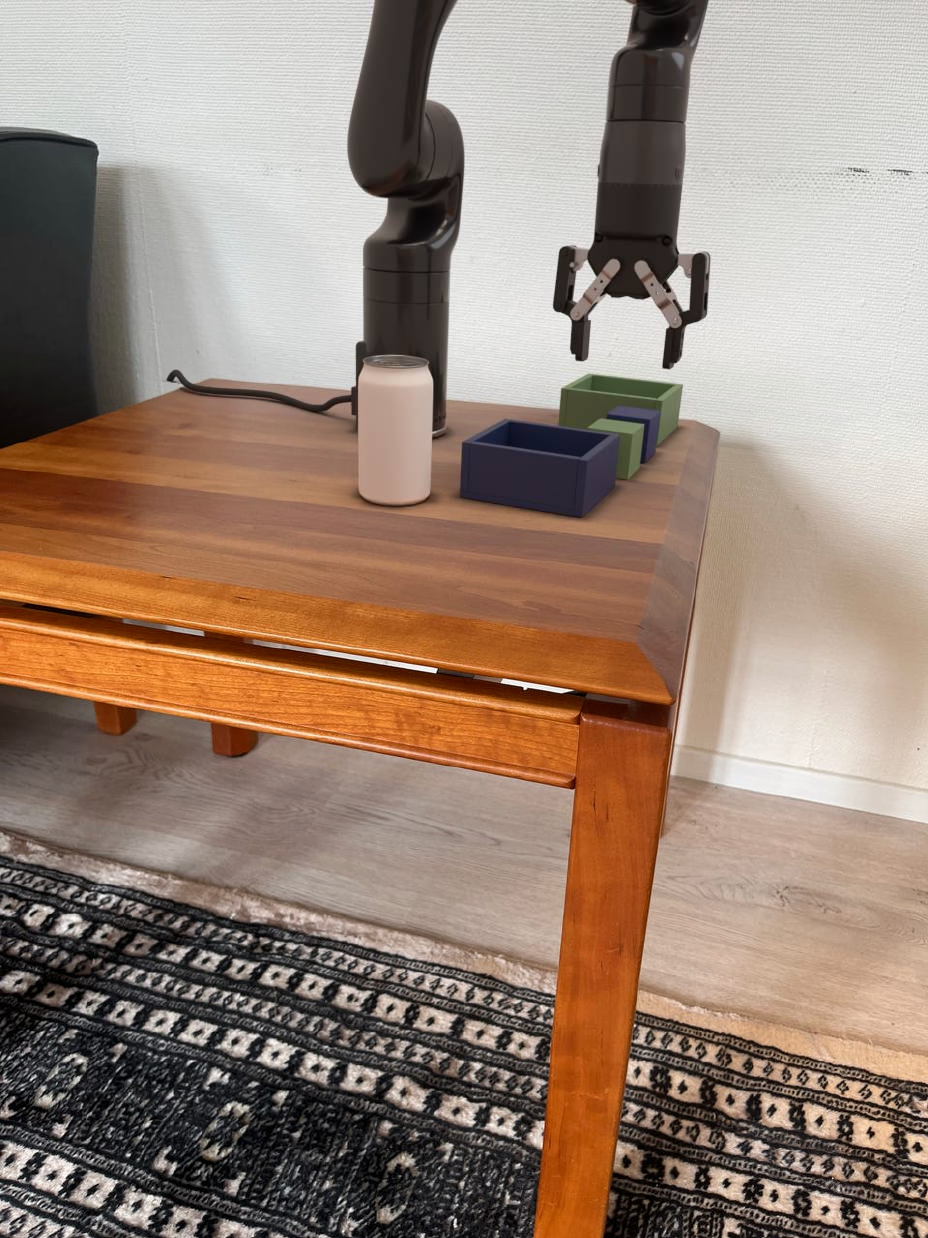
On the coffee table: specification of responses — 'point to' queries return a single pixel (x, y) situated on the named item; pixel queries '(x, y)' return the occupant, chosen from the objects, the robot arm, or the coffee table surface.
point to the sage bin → (618, 400)
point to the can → (395, 429)
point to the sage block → (624, 444)
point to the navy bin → (539, 466)
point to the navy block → (642, 417)
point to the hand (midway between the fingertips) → (623, 363)
